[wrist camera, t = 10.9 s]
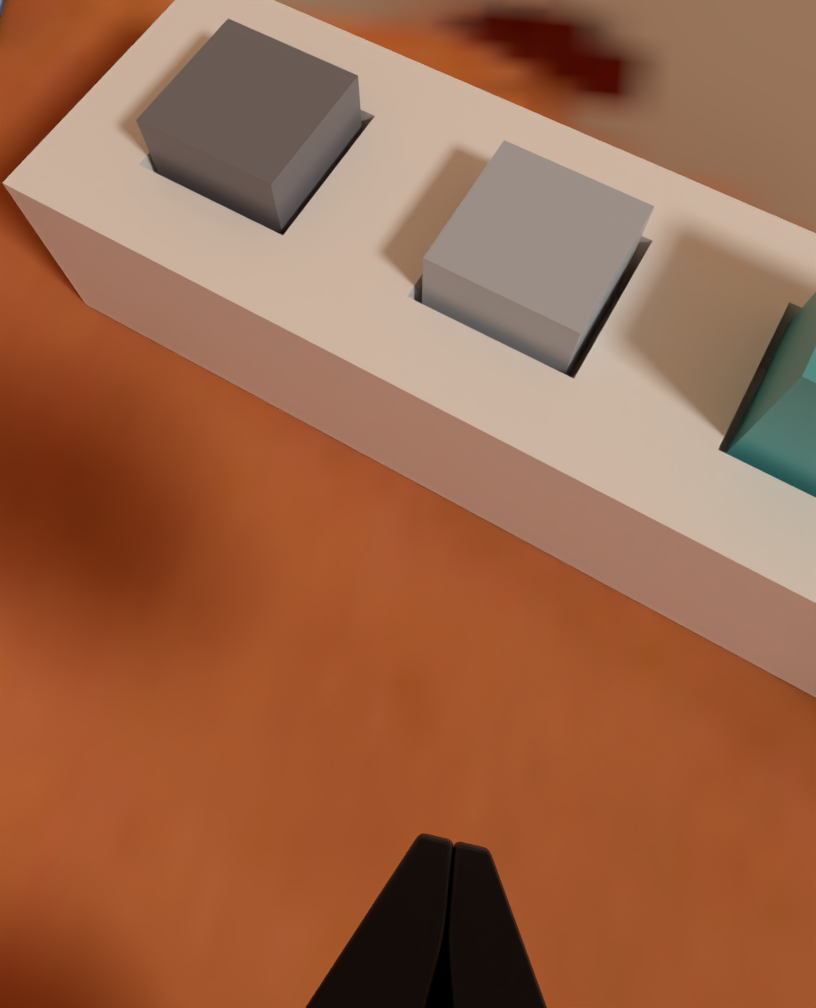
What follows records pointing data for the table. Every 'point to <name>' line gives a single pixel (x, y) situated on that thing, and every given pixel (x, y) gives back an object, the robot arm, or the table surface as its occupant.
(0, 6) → the ink cartridge box
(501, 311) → the slate key
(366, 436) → the keypad
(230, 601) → the table surface
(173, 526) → the table surface
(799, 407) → the teal key
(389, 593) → the table surface
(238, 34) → the charcoal key
